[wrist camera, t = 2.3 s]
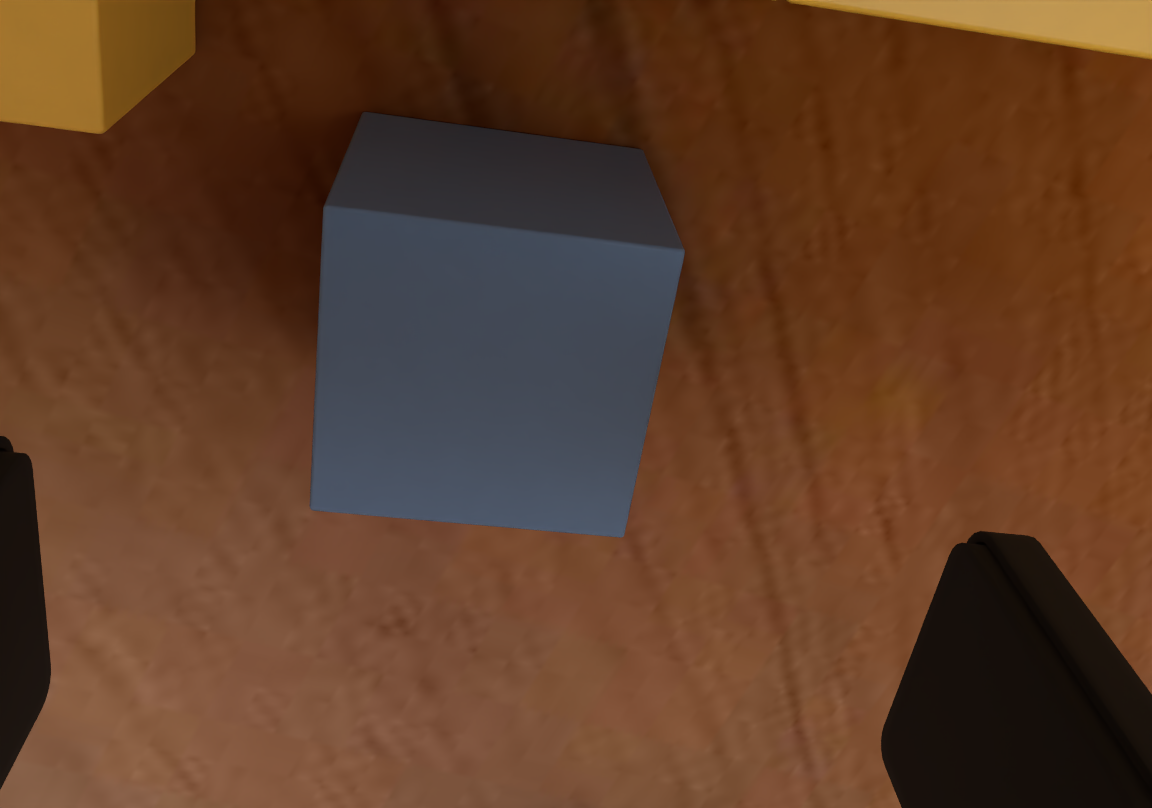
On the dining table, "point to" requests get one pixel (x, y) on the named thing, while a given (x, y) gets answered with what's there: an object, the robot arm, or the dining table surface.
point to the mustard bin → (1025, 19)
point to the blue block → (488, 327)
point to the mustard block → (88, 58)
